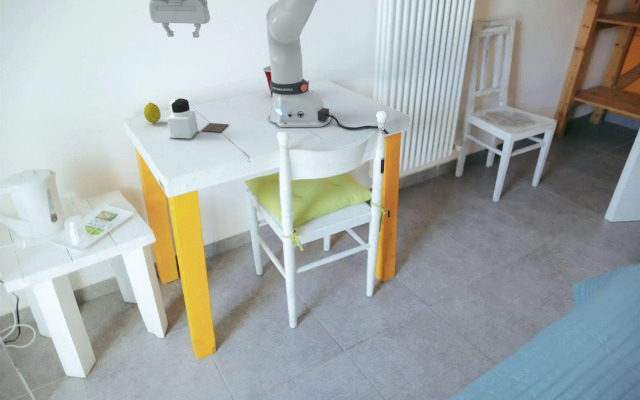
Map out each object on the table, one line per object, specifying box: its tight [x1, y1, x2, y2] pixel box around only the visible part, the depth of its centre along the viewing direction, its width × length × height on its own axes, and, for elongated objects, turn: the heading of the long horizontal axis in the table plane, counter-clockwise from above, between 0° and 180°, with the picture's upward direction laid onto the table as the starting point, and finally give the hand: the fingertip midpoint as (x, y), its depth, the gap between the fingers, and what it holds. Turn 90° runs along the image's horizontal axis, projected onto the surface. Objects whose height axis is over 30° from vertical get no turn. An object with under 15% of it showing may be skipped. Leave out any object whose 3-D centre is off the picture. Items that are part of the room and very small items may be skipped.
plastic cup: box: [262, 65, 271, 93], centre depth 189 cm, size 11×11×12 cm
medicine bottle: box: [166, 97, 199, 139], centre depth 155 cm, size 7×7×12 cm
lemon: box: [143, 102, 162, 125], centre depth 166 cm, size 6×6×8 cm
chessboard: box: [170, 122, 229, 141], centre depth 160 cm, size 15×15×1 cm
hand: (183, 37), depth 157 cm, fingers open, 8 cm apart
